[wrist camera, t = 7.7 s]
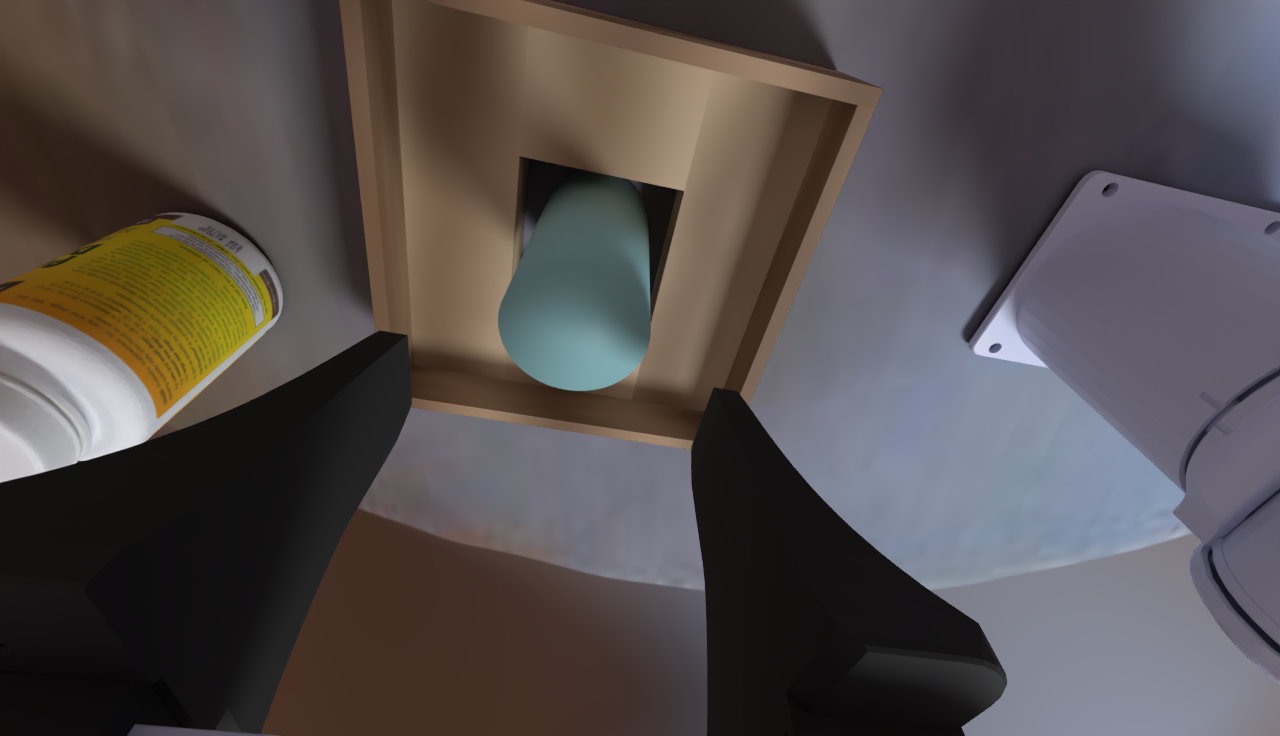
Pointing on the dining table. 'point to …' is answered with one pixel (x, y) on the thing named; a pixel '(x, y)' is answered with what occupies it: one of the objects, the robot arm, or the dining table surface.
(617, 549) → the dining table surface
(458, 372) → the box
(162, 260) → the supplement bottle
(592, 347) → the peg
